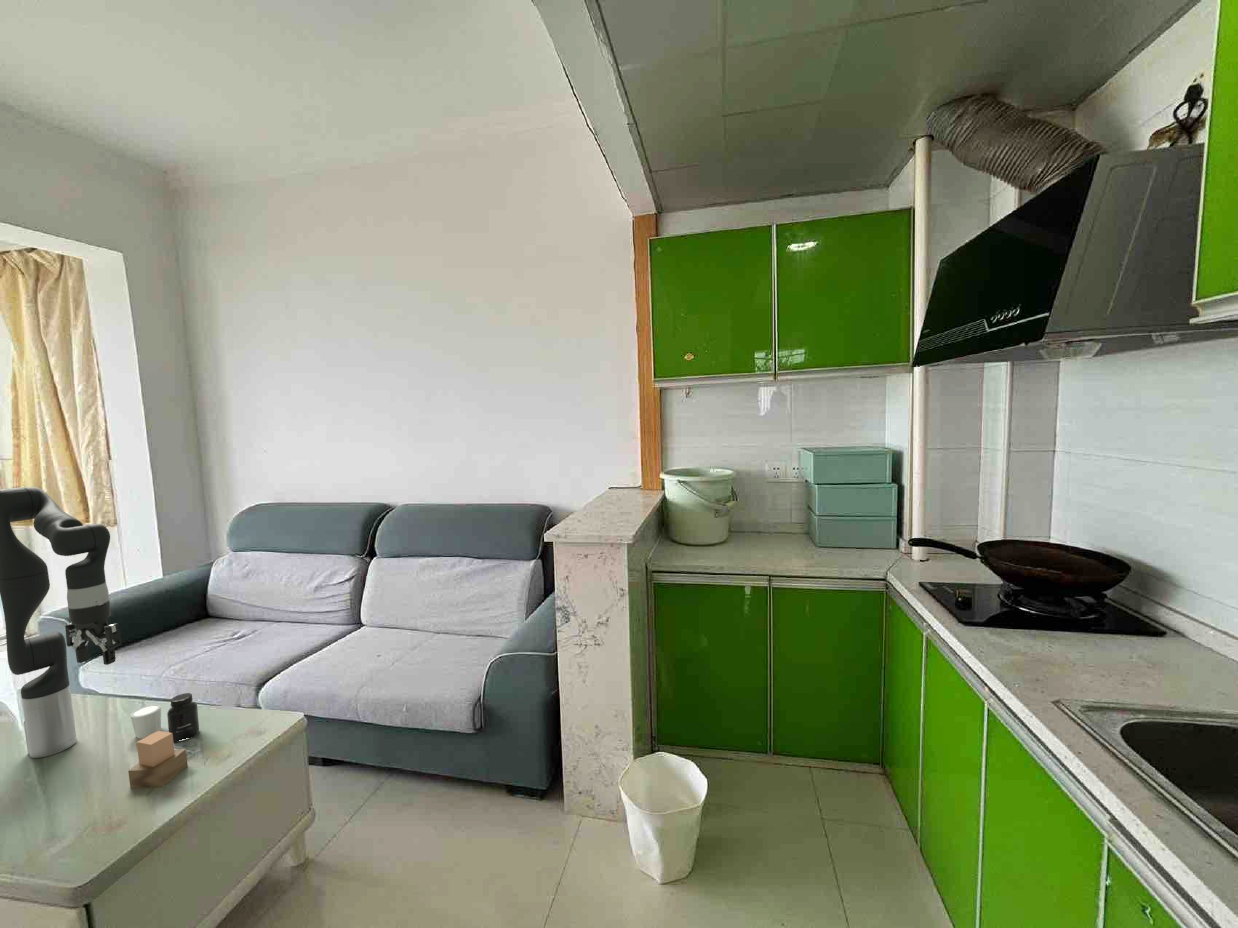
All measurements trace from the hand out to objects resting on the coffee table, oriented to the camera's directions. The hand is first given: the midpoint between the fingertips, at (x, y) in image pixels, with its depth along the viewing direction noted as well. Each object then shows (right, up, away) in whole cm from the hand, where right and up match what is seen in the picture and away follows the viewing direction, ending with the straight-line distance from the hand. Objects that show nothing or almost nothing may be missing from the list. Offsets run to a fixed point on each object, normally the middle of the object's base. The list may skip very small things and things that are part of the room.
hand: (96, 662), depth 136 cm
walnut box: (+17, -30, 0) cm, 34 cm away
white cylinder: (-4, -29, +20) cm, 35 cm away
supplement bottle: (+8, -29, +18) cm, 35 cm away
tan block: (+16, -25, 0) cm, 30 cm away
